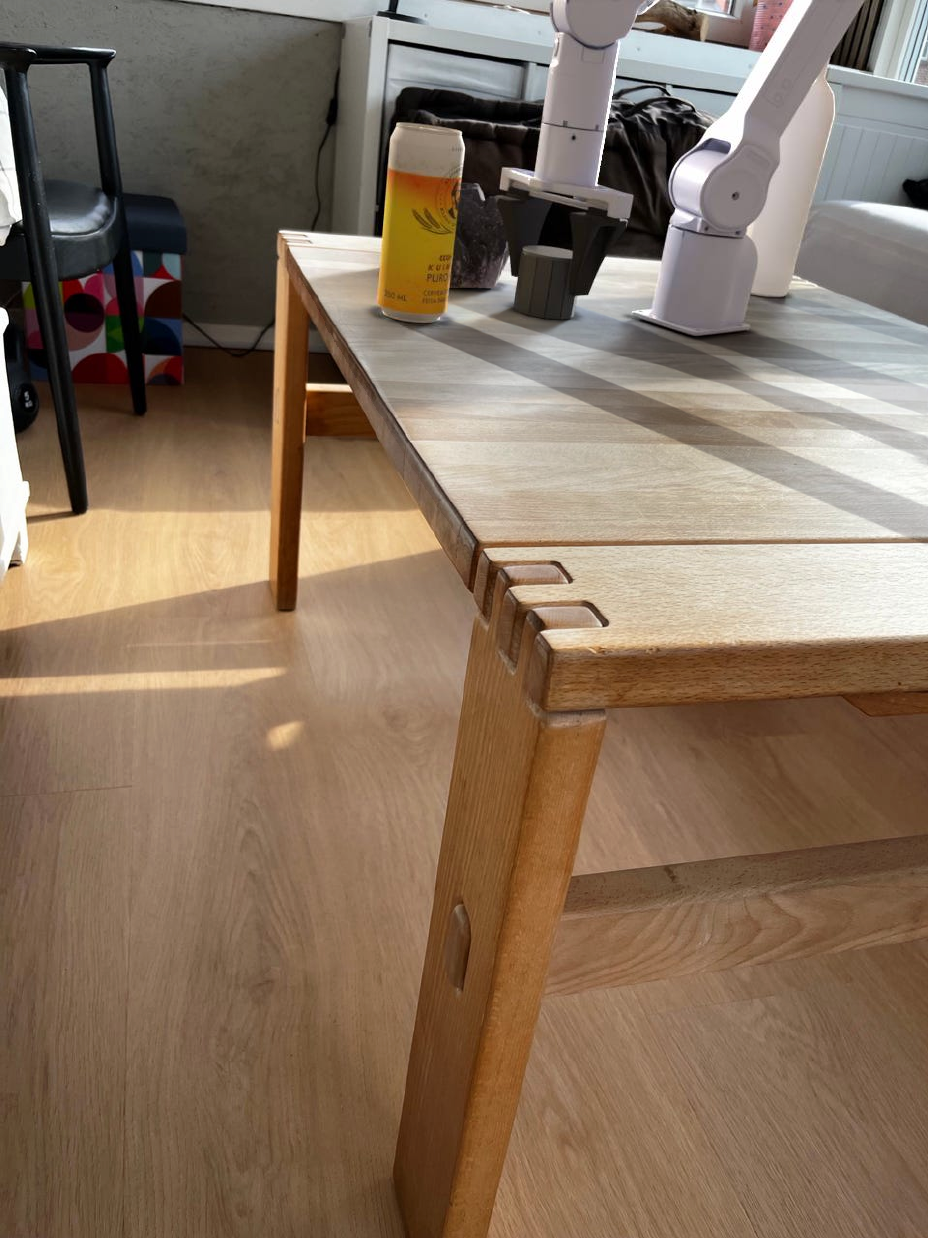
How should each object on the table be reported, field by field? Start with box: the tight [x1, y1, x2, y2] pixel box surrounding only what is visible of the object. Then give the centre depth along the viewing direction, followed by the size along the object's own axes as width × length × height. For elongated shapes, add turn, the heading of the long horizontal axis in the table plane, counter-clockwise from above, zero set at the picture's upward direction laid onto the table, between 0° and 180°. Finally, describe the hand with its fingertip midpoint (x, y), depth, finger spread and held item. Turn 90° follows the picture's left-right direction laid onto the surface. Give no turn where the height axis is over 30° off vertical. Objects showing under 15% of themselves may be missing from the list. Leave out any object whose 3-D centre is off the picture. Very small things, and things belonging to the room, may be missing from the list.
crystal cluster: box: [449, 182, 510, 289], centre depth 104 cm, size 13×14×10 cm
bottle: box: [746, 57, 836, 298], centre depth 116 cm, size 8×8×30 cm
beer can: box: [376, 122, 466, 324], centre depth 86 cm, size 6×6×15 cm
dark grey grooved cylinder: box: [513, 245, 578, 321], centre depth 97 cm, size 6×6×6 cm
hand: (549, 285), depth 97 cm, fingers open, 7 cm apart
